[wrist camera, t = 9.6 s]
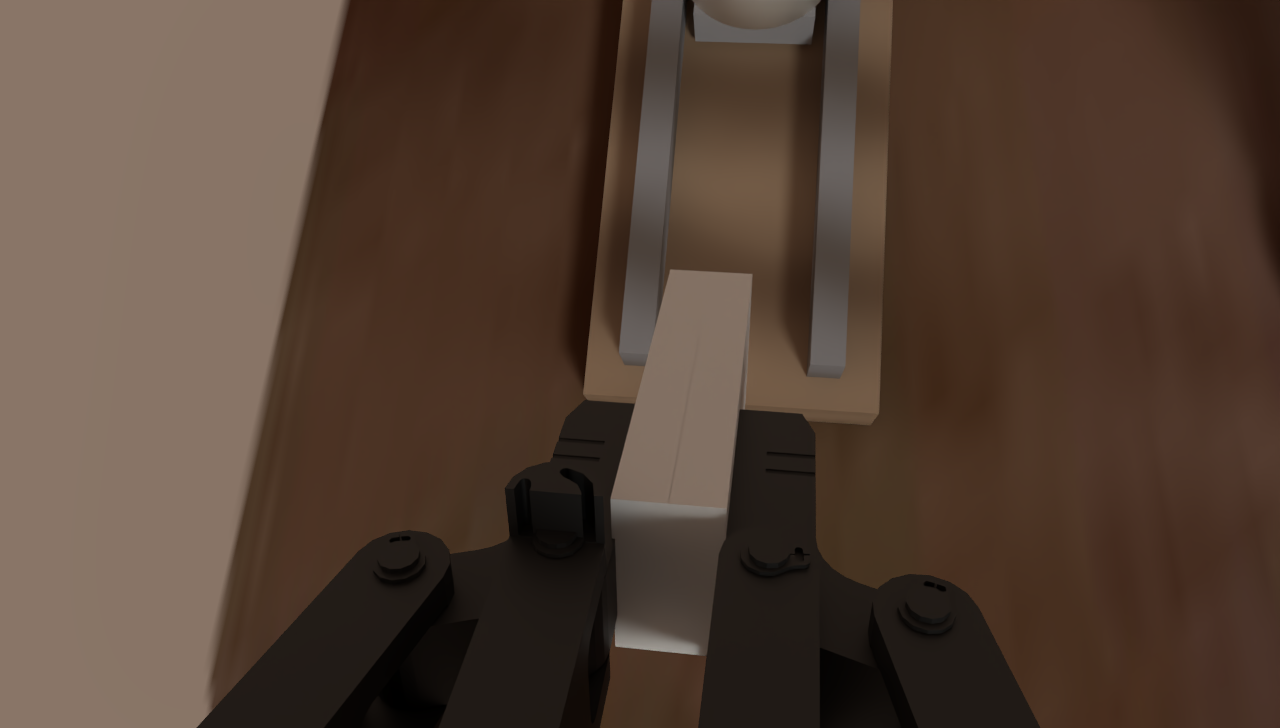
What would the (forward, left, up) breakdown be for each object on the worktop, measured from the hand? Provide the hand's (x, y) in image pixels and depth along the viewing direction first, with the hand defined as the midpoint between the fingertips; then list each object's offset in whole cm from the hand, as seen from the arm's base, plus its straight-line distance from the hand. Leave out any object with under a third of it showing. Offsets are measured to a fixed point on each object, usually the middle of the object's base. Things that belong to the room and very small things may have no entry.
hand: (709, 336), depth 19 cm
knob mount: (+5, -10, -14) cm, 18 cm away
